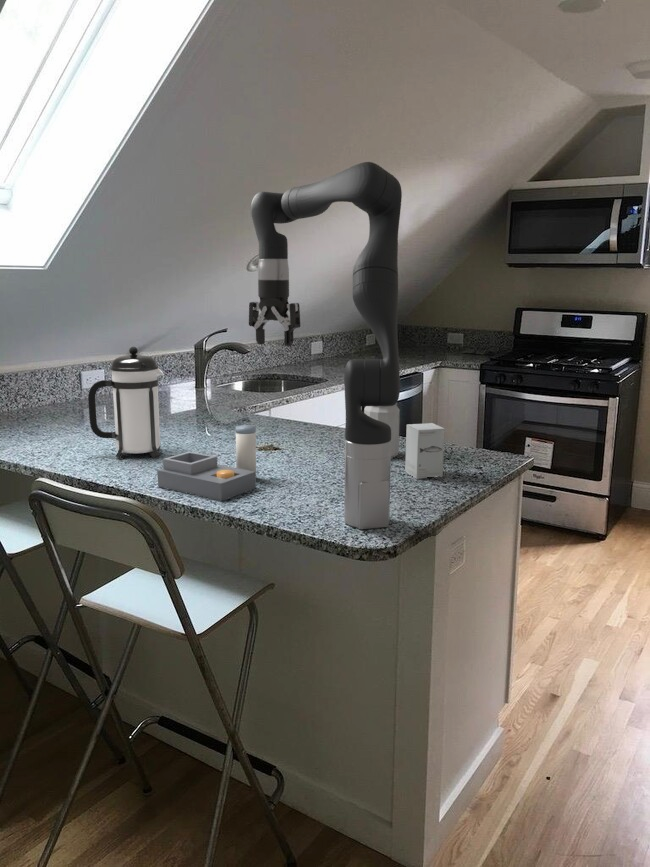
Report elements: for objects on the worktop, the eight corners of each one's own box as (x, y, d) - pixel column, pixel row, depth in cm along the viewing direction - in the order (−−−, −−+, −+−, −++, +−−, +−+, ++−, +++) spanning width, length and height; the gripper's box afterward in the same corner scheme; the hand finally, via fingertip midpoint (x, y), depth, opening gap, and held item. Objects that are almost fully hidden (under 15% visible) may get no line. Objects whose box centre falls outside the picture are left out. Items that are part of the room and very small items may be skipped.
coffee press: (142, 444, 217) (136, 342, 211) (177, 453, 207) (172, 346, 201) (90, 456, 204) (83, 347, 197) (125, 465, 194) (118, 351, 188)
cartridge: (238, 481, 179) (237, 429, 176) (235, 476, 184) (234, 425, 181) (258, 480, 180) (257, 428, 178) (254, 475, 185) (253, 424, 182)
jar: (401, 453, 208) (403, 389, 204) (395, 461, 199) (396, 395, 195) (367, 450, 210) (368, 388, 206) (359, 459, 201) (360, 393, 197)
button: (238, 488, 172) (237, 471, 171) (226, 492, 169) (226, 475, 168) (225, 485, 174) (224, 468, 173) (213, 489, 171) (213, 472, 170)
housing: (255, 488, 174) (255, 461, 173) (221, 500, 164) (220, 472, 163) (193, 475, 185) (192, 449, 184) (158, 486, 175) (156, 460, 174)
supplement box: (416, 480, 181) (417, 429, 179) (404, 472, 188) (405, 423, 185) (443, 477, 183) (445, 427, 181) (431, 470, 190) (432, 422, 187)
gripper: (306, 278, 179) (306, 345, 182) (260, 277, 186) (261, 342, 190) (287, 278, 173) (288, 348, 176) (241, 278, 180) (242, 344, 184)
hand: (274, 345), depth 183 cm, fingers open, 8 cm apart
